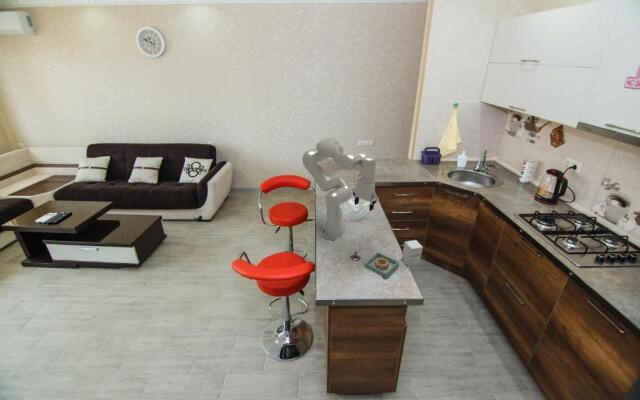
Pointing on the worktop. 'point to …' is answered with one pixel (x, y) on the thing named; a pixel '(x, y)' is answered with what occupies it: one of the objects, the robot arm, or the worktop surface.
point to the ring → (381, 266)
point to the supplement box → (412, 253)
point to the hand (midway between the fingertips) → (363, 206)
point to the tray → (380, 270)
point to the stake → (355, 257)
